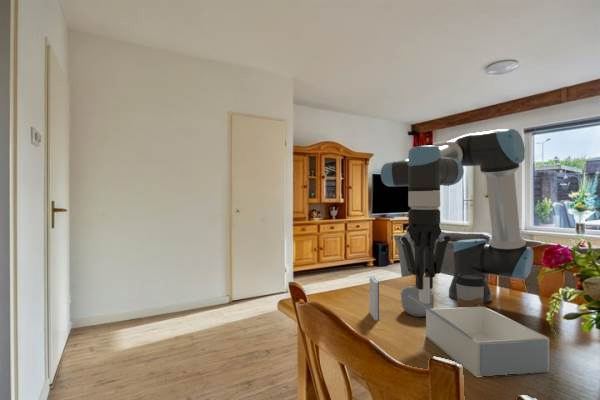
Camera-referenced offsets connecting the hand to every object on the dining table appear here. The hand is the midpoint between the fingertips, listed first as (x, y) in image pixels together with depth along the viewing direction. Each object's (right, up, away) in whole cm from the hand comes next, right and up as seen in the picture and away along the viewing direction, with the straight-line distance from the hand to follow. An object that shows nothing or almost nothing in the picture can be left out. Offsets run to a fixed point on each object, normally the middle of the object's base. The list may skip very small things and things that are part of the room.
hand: (424, 301), depth 83 cm
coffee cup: (+23, -14, +22) cm, 35 cm away
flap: (+3, -3, 0) cm, 5 cm away
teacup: (+9, -14, +32) cm, 36 cm away
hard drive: (-6, -14, +28) cm, 32 cm away
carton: (+15, -14, +2) cm, 21 cm away
